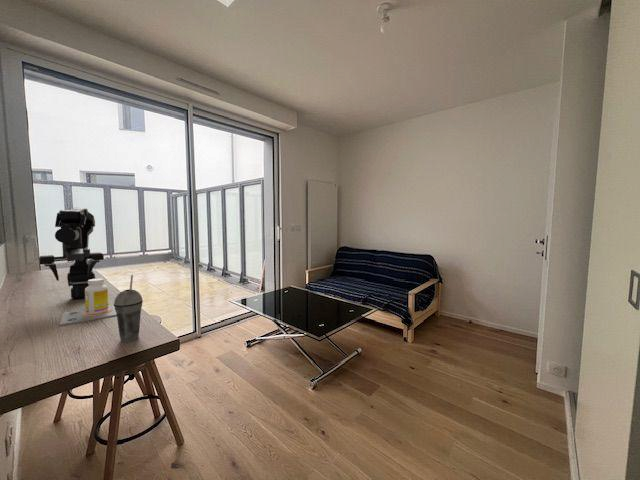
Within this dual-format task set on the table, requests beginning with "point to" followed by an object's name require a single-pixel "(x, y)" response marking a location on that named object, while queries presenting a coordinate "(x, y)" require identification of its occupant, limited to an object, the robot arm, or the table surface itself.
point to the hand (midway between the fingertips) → (73, 278)
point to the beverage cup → (128, 313)
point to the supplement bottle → (96, 296)
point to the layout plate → (85, 316)
